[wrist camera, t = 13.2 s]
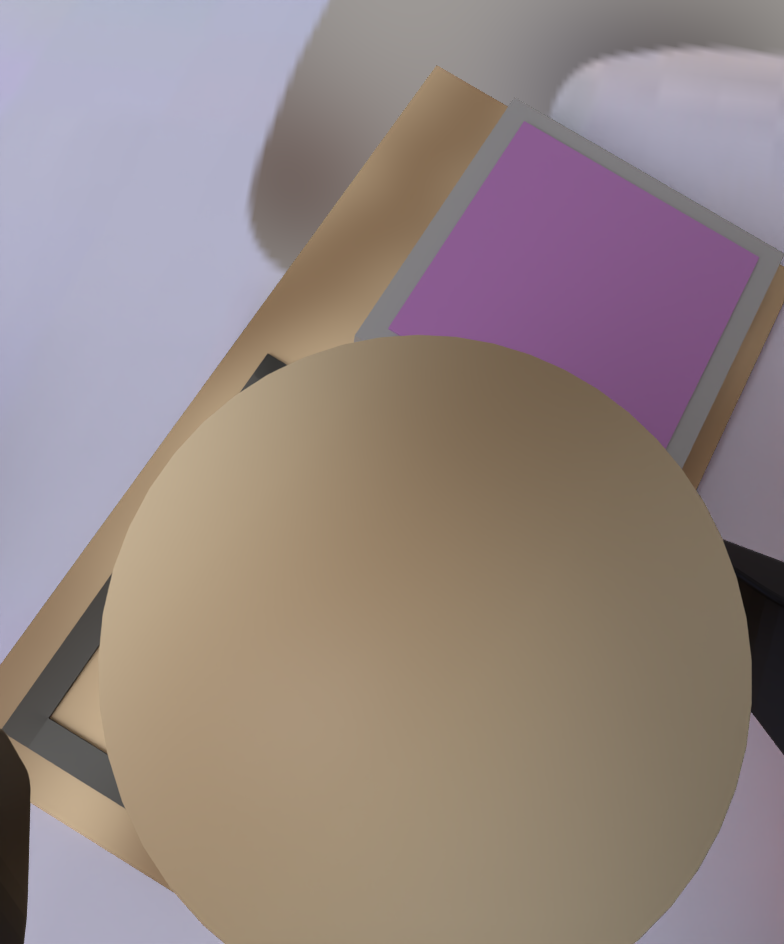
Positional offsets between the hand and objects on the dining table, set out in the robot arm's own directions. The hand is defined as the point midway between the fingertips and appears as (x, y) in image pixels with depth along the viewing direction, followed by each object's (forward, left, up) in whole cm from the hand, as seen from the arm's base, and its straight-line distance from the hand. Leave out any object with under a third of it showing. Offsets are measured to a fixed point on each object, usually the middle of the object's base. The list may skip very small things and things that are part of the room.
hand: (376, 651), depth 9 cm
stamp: (0, 0, -10) cm, 10 cm away
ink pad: (-1, -13, -10) cm, 16 cm away
